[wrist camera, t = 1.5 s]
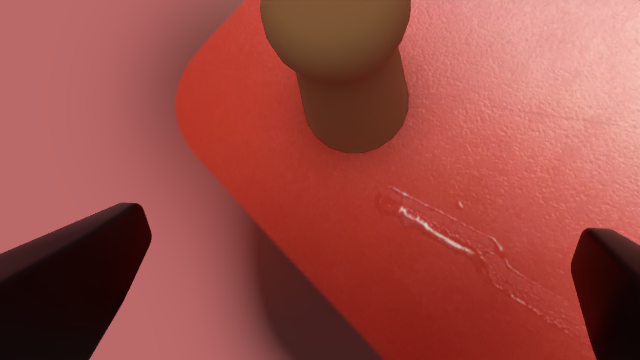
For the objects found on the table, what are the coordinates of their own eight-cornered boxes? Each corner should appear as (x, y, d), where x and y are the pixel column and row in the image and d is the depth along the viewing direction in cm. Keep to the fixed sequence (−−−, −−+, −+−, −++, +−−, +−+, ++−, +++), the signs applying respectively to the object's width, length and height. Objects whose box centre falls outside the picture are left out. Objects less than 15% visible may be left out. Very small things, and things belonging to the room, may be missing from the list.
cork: (427, 124, 22) (467, 6, 11) (329, 171, 22) (277, 101, 12) (380, 35, 23) (374, -145, 13) (288, 82, 24) (207, -54, 13)
